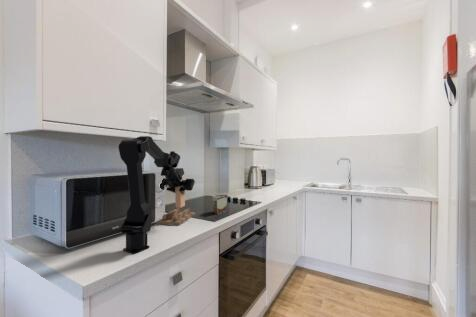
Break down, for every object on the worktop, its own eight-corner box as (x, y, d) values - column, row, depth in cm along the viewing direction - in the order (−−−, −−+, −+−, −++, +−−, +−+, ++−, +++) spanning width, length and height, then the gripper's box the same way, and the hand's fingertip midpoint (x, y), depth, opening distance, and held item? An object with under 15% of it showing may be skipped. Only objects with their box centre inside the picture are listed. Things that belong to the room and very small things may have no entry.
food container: (219, 209, 142) (219, 193, 142) (227, 210, 139) (227, 194, 139) (207, 213, 131) (207, 196, 131) (216, 214, 128) (216, 197, 128)
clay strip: (180, 207, 116) (180, 182, 116) (175, 207, 116) (175, 182, 116) (185, 205, 121) (184, 181, 121) (180, 205, 121) (179, 181, 121)
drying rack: (179, 225, 108) (179, 217, 108) (157, 224, 110) (157, 216, 110) (194, 214, 128) (194, 208, 128) (175, 214, 130) (175, 207, 130)
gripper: (193, 163, 113) (201, 182, 123) (160, 163, 117) (170, 181, 127) (186, 180, 105) (195, 199, 116) (151, 179, 109) (163, 197, 120)
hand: (181, 193), depth 120 cm, fingers closed on clay strip, 3 cm apart
